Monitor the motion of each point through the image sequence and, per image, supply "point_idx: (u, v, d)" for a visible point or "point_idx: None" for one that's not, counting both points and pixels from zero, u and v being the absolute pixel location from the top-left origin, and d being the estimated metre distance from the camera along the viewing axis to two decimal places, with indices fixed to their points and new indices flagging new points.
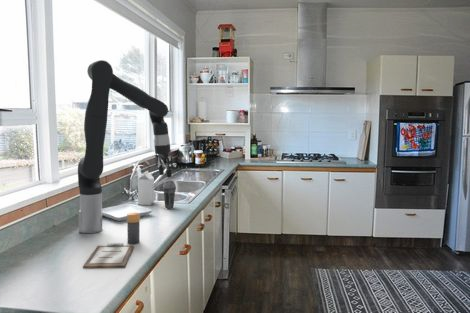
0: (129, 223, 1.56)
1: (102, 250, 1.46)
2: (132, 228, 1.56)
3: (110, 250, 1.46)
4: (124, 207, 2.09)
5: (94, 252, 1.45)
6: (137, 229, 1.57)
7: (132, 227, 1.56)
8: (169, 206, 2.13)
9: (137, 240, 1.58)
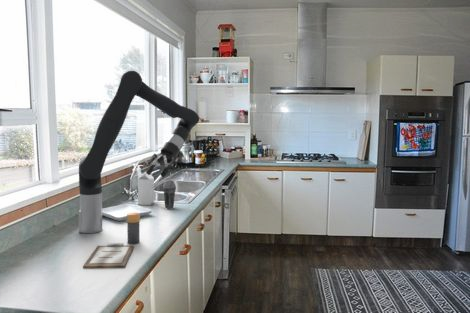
0: (129, 223, 1.56)
1: (102, 250, 1.46)
2: (132, 228, 1.56)
3: (110, 250, 1.46)
4: (124, 207, 2.09)
5: (94, 252, 1.45)
6: (137, 229, 1.57)
7: (132, 227, 1.56)
8: (169, 206, 2.13)
9: (137, 240, 1.58)
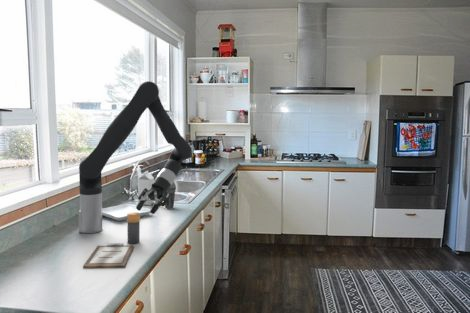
0: (129, 223, 1.56)
1: (102, 250, 1.46)
2: (132, 228, 1.56)
3: (110, 250, 1.46)
4: (124, 207, 2.09)
5: (94, 252, 1.45)
6: (137, 229, 1.57)
7: (132, 227, 1.56)
8: (169, 206, 2.13)
9: (137, 240, 1.58)
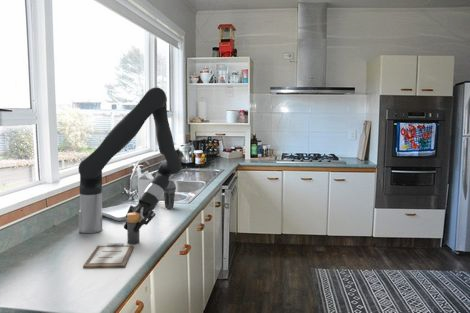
0: (129, 223, 1.56)
1: (102, 250, 1.46)
2: (132, 228, 1.56)
3: (110, 250, 1.46)
4: (124, 207, 2.09)
5: (94, 252, 1.45)
6: None
7: (132, 227, 1.56)
8: (169, 206, 2.13)
9: (137, 240, 1.58)
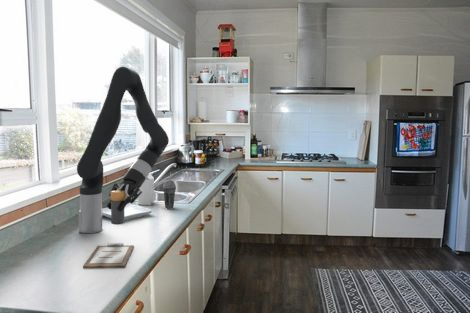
0: (113, 201, 1.42)
1: (102, 250, 1.46)
2: (116, 206, 1.42)
3: (110, 250, 1.46)
4: None
5: (94, 252, 1.45)
6: None
7: (116, 206, 1.42)
8: (169, 206, 2.13)
9: (122, 220, 1.44)
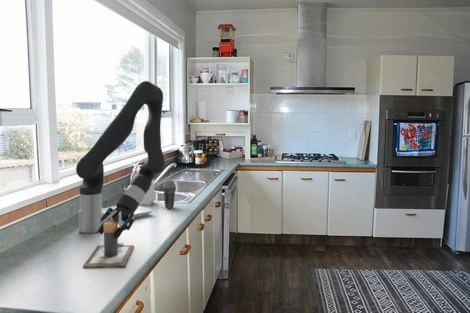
0: (106, 233, 1.39)
1: (102, 250, 1.46)
2: (109, 239, 1.39)
3: None
4: None
5: (94, 252, 1.45)
6: (115, 240, 1.41)
7: (108, 238, 1.39)
8: (169, 206, 2.13)
9: (115, 252, 1.41)
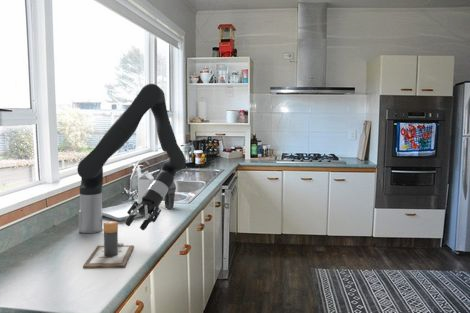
0: (106, 233, 1.39)
1: (102, 250, 1.46)
2: (109, 239, 1.39)
3: None
4: (124, 207, 2.09)
5: (94, 252, 1.45)
6: (115, 240, 1.41)
7: (108, 238, 1.39)
8: (169, 206, 2.13)
9: (115, 252, 1.41)
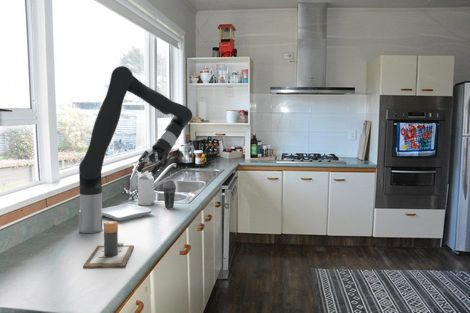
0: (106, 233, 1.39)
1: (102, 250, 1.46)
2: (109, 239, 1.39)
3: None
4: (124, 207, 2.09)
5: (94, 252, 1.45)
6: (115, 240, 1.41)
7: (108, 238, 1.39)
8: (169, 206, 2.13)
9: (115, 252, 1.41)
